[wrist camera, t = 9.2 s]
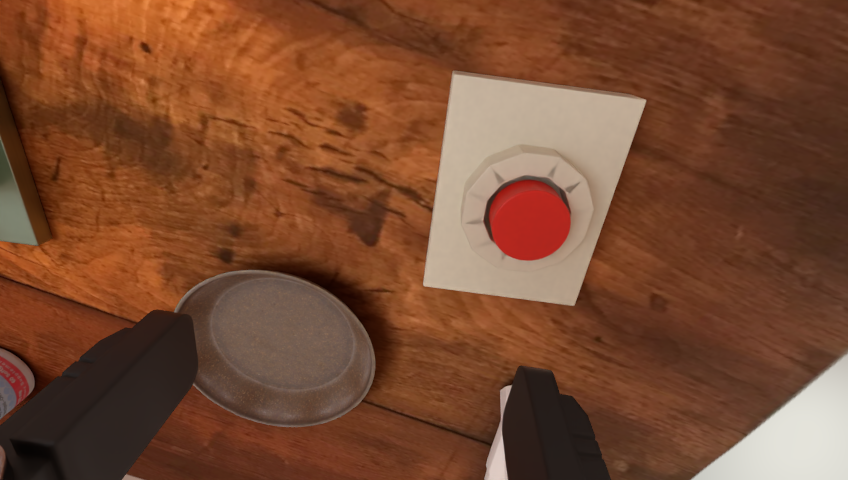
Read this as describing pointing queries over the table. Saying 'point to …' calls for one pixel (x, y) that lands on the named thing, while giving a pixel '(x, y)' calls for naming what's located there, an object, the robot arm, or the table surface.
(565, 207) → the button
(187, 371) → the robot arm
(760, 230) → the table surface
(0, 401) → the pill bottle
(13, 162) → the bracket
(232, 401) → the saucer
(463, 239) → the button box
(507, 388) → the faucet
